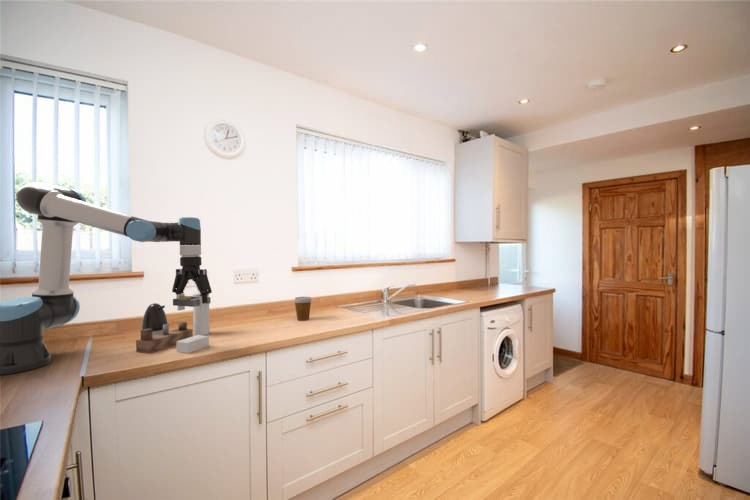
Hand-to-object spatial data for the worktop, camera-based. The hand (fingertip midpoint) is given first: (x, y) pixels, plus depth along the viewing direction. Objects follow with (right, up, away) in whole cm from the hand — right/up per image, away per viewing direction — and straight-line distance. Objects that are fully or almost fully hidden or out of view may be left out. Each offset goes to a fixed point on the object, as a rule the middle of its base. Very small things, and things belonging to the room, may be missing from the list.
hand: (192, 310), depth 136 cm
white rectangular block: (0, -15, 0) cm, 15 cm away
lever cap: (0, +3, 0) cm, 3 cm away
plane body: (-14, -15, +5) cm, 21 cm away
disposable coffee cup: (+34, -14, +51) cm, 63 cm away
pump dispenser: (-27, -15, +19) cm, 36 cm away
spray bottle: (-7, -15, +22) cm, 28 cm away
